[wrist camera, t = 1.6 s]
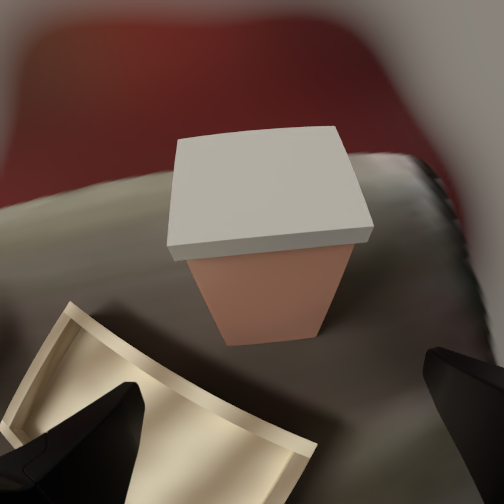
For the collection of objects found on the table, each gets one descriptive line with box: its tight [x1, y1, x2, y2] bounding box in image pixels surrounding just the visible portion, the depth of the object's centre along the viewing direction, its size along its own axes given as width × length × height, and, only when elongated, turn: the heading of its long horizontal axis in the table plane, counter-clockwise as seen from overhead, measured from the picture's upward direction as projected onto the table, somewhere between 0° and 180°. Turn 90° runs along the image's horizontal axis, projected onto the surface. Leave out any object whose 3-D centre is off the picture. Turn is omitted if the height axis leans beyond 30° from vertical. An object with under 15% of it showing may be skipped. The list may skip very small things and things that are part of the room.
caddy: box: [167, 126, 374, 346], centre depth 18 cm, size 6×7×14 cm
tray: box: [0, 302, 317, 504], centre depth 17 cm, size 20×13×3 cm, turn 63°
